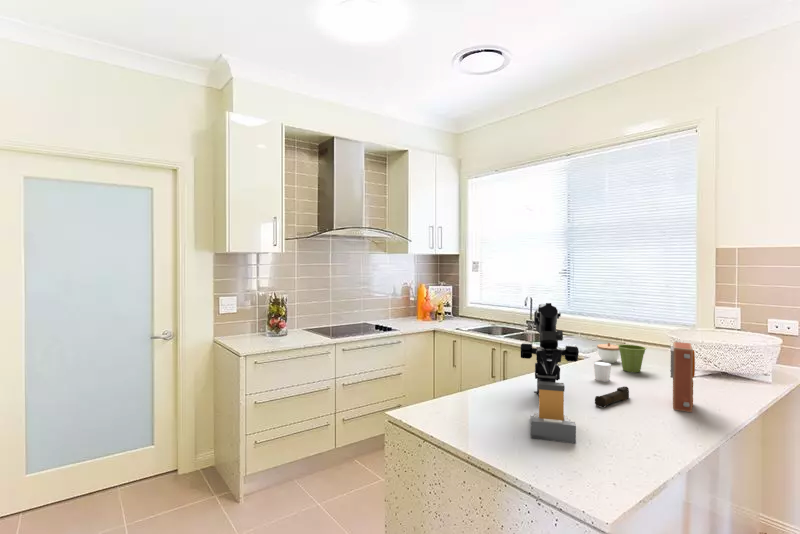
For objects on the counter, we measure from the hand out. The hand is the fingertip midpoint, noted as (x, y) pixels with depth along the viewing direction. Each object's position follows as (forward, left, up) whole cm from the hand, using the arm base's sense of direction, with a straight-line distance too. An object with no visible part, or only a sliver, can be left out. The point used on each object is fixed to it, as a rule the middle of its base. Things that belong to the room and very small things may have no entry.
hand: (549, 373), depth 142 cm
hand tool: (+2, +31, -14) cm, 34 cm away
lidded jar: (-39, +85, -14) cm, 95 cm away
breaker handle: (+7, -7, -12) cm, 16 cm away
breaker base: (+10, -10, -14) cm, 19 cm away
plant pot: (-22, +78, -14) cm, 82 cm away
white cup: (-19, +53, -14) cm, 58 cm away
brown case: (+16, +48, -14) cm, 52 cm away
